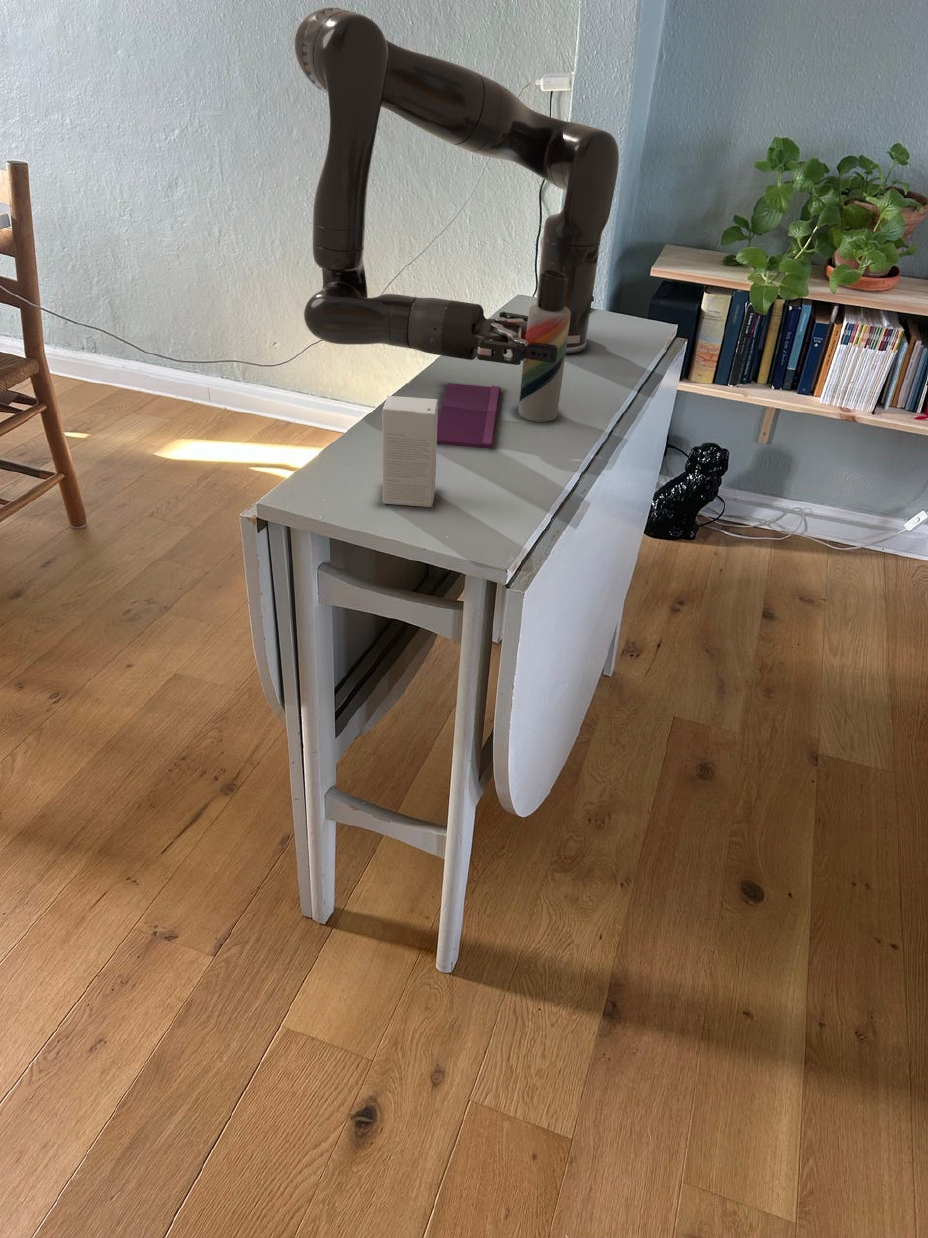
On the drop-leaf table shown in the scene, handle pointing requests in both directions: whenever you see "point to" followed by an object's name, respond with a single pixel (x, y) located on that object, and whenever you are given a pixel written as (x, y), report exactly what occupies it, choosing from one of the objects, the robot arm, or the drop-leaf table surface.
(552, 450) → the drop-leaf table surface
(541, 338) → the lotion bottle
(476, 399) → the purple rectangular block
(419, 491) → the cosmetic box
